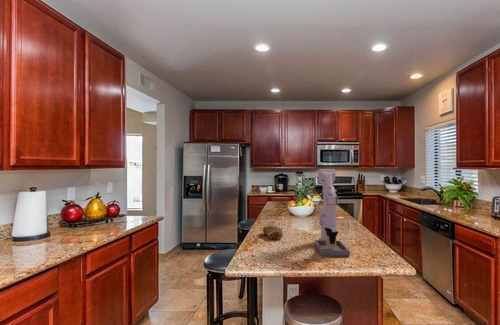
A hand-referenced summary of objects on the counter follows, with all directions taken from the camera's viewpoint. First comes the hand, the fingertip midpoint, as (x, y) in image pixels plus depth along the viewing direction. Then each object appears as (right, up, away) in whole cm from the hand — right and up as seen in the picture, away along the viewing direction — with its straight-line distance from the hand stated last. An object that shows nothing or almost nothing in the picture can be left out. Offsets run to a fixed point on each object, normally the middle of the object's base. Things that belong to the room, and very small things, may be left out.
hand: (331, 242), depth 157 cm
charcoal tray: (0, -4, 0) cm, 4 cm away
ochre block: (0, -2, 0) cm, 2 cm away
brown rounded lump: (-29, -5, +33) cm, 44 cm away
